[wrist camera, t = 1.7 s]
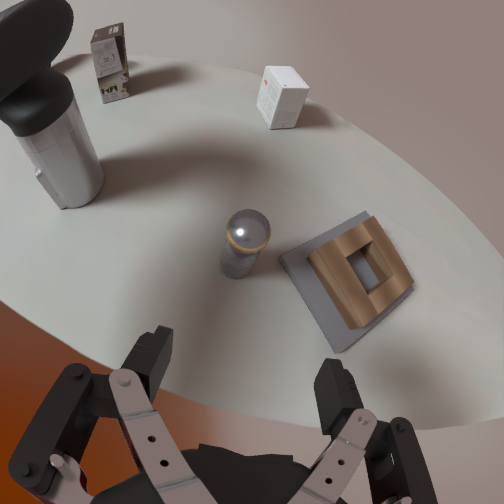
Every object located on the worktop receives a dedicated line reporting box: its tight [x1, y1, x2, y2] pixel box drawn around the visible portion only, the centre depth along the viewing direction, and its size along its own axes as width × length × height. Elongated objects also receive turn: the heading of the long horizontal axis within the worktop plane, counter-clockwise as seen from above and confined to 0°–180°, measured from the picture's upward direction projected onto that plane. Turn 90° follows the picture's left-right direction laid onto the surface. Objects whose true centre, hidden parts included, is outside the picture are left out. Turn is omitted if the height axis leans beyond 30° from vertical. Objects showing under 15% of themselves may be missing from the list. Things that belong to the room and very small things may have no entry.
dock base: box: [279, 211, 414, 353], centre depth 39 cm, size 18×16×2 cm
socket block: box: [306, 216, 414, 330], centre depth 37 cm, size 12×12×4 cm
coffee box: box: [90, 23, 129, 103], centre depth 39 cm, size 9×6×16 cm
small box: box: [256, 66, 310, 129], centre depth 45 cm, size 8×6×10 cm
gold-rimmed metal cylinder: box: [221, 209, 271, 279], centre depth 32 cm, size 4×4×12 cm
